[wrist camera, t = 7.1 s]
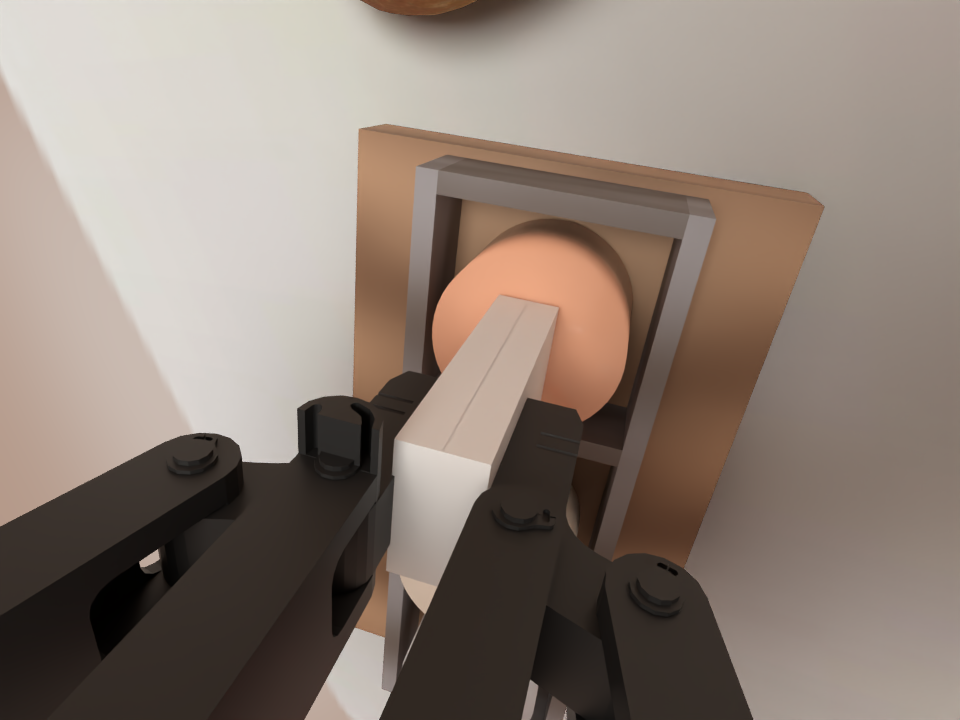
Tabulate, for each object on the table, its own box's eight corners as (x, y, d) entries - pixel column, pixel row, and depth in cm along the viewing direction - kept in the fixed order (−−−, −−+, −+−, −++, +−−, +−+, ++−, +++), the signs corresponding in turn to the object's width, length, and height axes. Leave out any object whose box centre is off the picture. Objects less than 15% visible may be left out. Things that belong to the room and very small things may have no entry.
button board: (386, 124, 19) (315, 136, 15) (807, 192, 17) (852, 228, 13) (366, 592, 29) (321, 671, 26) (627, 677, 27) (621, 779, 23)
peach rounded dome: (479, 204, 17) (440, 232, 14) (651, 236, 16) (649, 273, 13) (461, 355, 20) (425, 407, 17) (611, 390, 19) (602, 452, 16)
